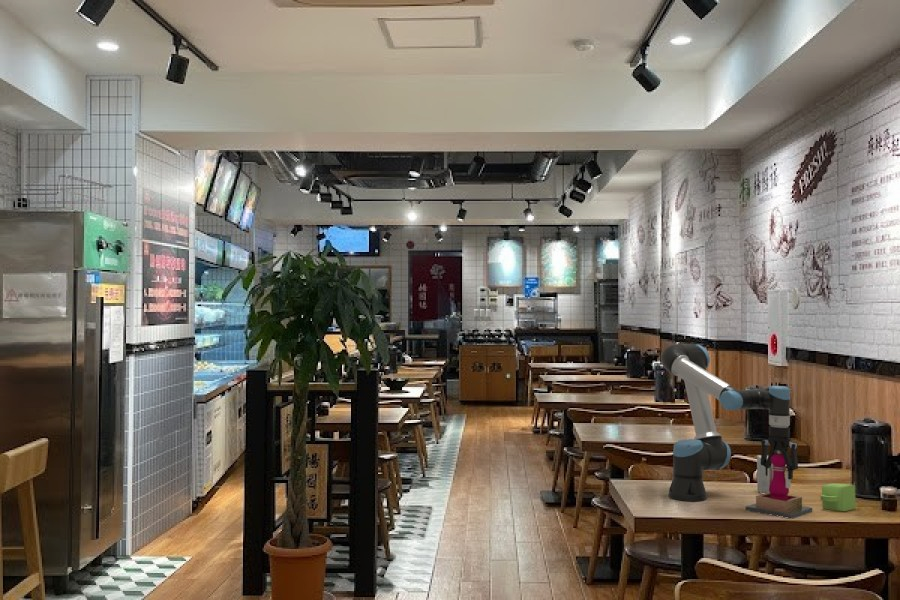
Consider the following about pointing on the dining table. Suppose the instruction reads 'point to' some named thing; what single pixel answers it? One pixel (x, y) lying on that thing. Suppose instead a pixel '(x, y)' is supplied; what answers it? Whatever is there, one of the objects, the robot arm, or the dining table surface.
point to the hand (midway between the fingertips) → (779, 486)
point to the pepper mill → (778, 477)
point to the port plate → (779, 506)
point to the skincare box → (762, 477)
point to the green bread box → (838, 497)
